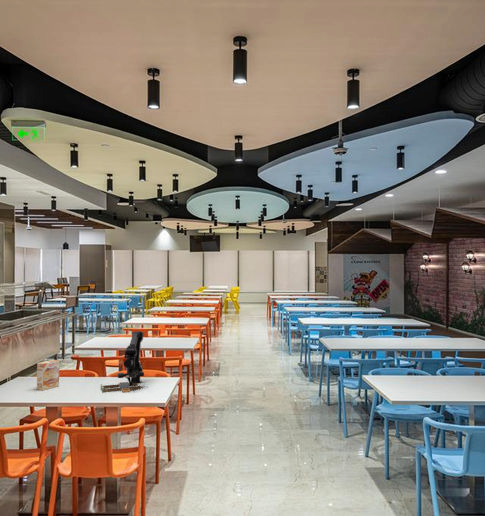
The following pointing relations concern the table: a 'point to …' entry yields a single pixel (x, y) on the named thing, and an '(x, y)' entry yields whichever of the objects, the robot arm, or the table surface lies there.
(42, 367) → the coffeecake box
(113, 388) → the finger box
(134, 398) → the table surface
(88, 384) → the table surface
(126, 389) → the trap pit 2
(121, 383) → the slate block
